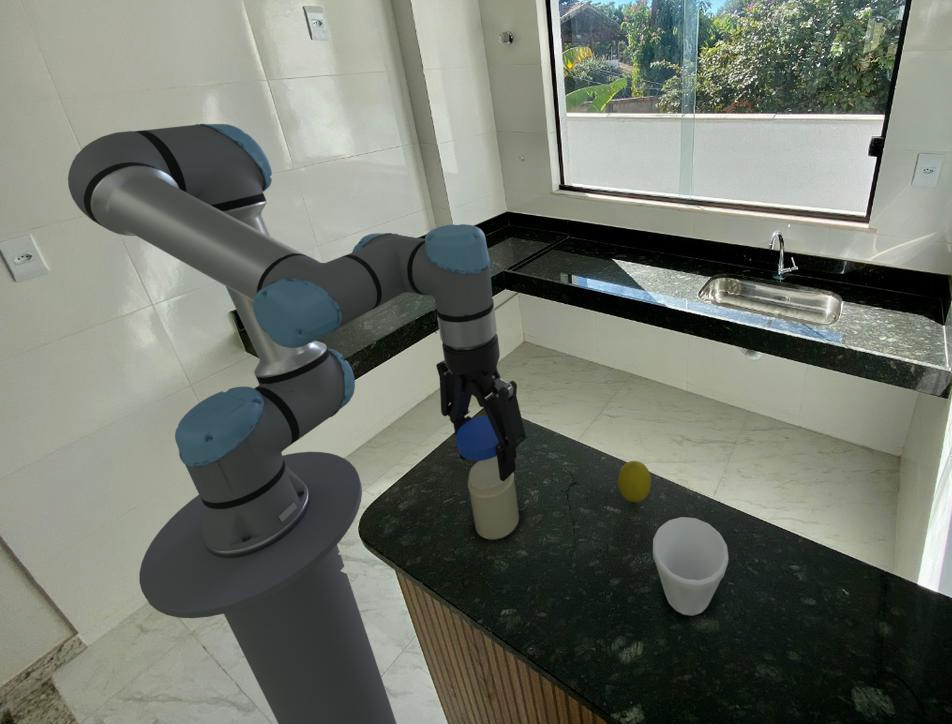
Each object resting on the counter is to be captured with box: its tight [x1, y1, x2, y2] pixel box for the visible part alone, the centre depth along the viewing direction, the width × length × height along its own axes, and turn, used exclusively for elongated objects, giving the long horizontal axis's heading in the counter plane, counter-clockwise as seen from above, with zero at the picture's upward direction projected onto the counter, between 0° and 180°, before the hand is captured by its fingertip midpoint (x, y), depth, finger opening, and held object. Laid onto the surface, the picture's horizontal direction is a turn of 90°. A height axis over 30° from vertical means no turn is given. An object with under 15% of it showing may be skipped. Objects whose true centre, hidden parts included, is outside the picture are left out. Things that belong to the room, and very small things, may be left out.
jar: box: [467, 456, 520, 540], centre depth 78 cm, size 7×7×11 cm
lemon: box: [617, 460, 652, 503], centre depth 82 cm, size 6×6×8 cm
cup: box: [652, 516, 729, 617], centre depth 66 cm, size 10×10×9 cm
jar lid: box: [455, 415, 499, 462], centre depth 74 cm, size 8×8×2 cm
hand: (487, 463), depth 76 cm, fingers closed on jar lid, 8 cm apart
